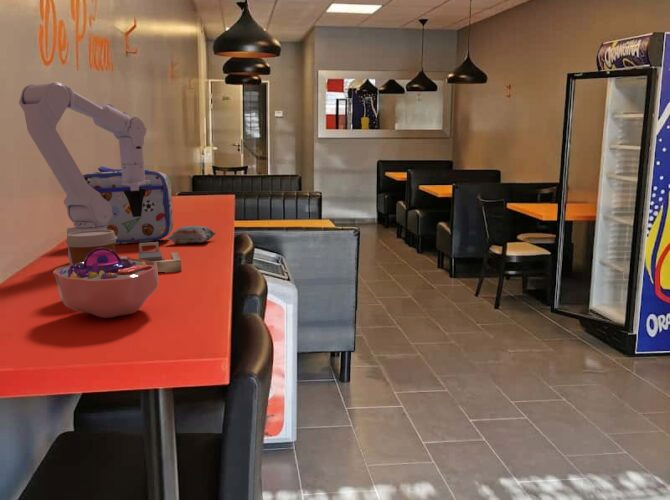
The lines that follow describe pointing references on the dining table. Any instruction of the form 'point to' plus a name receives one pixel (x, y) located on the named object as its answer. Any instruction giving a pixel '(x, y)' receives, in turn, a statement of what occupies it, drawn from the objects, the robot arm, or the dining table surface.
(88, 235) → the disposable coffee cup
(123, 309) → the cell model
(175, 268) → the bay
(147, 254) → the grey box with knobs
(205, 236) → the packaged food
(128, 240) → the lunch box
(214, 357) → the dining table surface
